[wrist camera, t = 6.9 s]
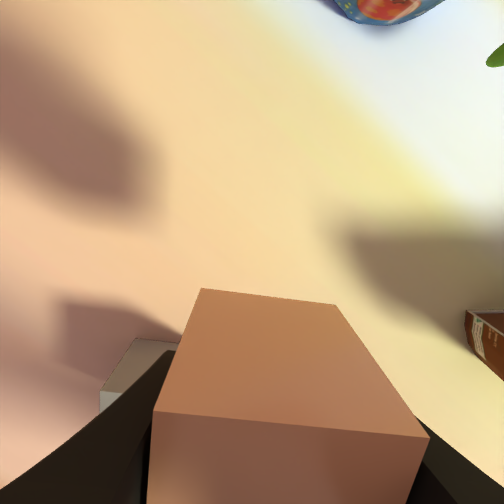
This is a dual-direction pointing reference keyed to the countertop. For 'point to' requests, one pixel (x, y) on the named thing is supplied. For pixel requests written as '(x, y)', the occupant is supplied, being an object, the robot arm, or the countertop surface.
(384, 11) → the snack cup
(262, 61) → the countertop surface
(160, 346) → the slate block
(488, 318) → the food container
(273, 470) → the terracotta block
